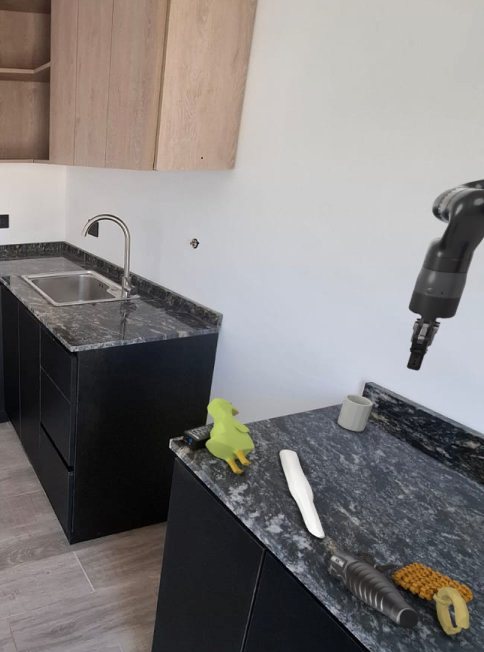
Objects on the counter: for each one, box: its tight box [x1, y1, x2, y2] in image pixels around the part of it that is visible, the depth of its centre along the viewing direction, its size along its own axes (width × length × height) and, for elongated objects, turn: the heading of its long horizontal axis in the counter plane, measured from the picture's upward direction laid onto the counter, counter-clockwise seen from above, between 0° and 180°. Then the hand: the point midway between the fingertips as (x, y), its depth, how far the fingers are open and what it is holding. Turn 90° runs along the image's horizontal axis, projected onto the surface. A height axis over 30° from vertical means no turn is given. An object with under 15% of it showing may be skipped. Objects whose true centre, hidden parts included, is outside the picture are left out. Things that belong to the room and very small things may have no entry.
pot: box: [337, 393, 373, 432], centre depth 123 cm, size 6×6×8 cm
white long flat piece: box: [278, 449, 326, 539], centre depth 99 cm, size 28×4×2 cm, turn 163°
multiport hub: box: [182, 422, 214, 450], centre depth 115 cm, size 4×11×2 cm, turn 117°
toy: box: [205, 397, 255, 475], centre depth 110 cm, size 6×17×20 cm
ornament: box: [391, 562, 474, 635], centre depth 73 cm, size 7×10×15 cm
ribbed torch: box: [327, 549, 420, 629], centre depth 75 cm, size 9×13×3 cm
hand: (413, 368), depth 101 cm, fingers closed
